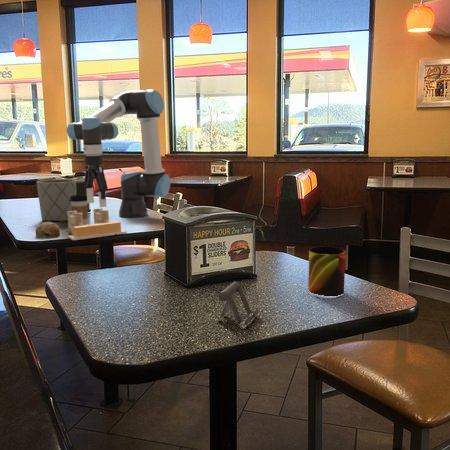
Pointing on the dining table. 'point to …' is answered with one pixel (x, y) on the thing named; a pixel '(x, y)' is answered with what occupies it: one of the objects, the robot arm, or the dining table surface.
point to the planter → (55, 198)
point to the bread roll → (47, 230)
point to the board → (96, 235)
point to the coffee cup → (80, 205)
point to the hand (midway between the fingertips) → (96, 204)
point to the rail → (96, 229)
